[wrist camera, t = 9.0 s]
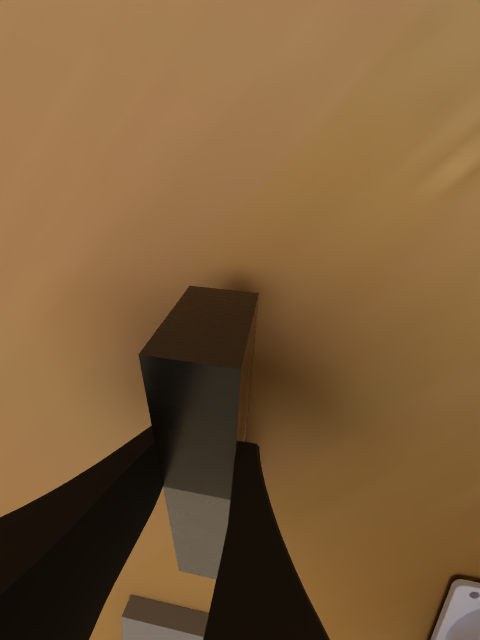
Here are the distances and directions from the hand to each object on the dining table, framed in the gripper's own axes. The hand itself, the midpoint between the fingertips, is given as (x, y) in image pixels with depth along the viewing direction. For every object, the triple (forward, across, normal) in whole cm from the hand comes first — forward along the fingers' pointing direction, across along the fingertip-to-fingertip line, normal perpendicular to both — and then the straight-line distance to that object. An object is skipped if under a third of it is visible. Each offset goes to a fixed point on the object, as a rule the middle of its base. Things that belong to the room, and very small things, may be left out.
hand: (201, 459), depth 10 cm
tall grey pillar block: (+4, 0, +1) cm, 4 cm away
